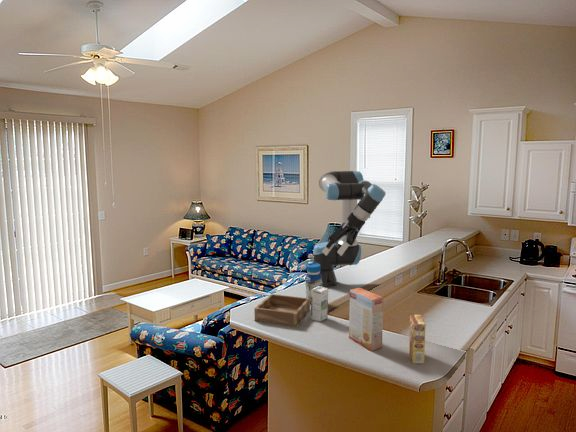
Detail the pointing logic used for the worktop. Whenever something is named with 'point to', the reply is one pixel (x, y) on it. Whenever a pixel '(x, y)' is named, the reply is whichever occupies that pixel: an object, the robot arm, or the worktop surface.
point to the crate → (282, 310)
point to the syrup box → (319, 303)
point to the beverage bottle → (313, 278)
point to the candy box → (417, 338)
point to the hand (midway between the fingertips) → (331, 253)
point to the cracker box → (366, 318)
